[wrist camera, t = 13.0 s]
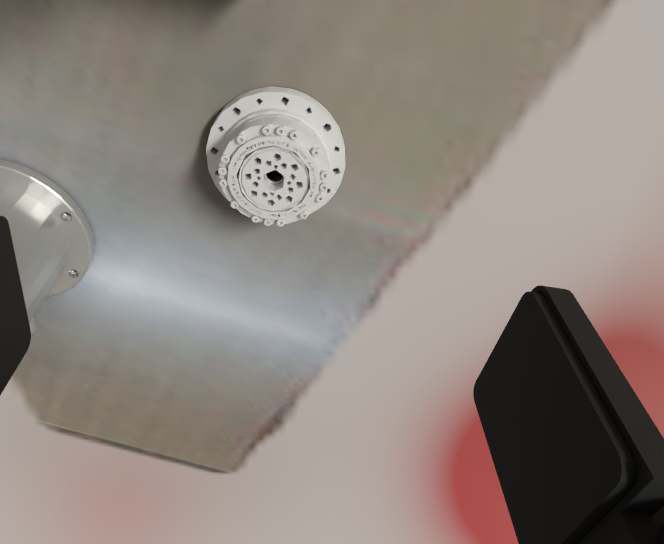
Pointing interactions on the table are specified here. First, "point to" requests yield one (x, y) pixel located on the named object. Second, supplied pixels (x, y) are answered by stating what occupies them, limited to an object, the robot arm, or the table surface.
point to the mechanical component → (276, 155)
